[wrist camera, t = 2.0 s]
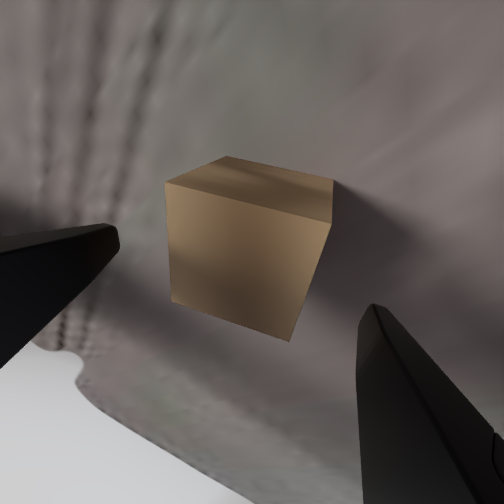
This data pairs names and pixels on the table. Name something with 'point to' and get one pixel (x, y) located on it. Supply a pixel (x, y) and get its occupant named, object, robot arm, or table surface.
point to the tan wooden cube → (246, 241)
